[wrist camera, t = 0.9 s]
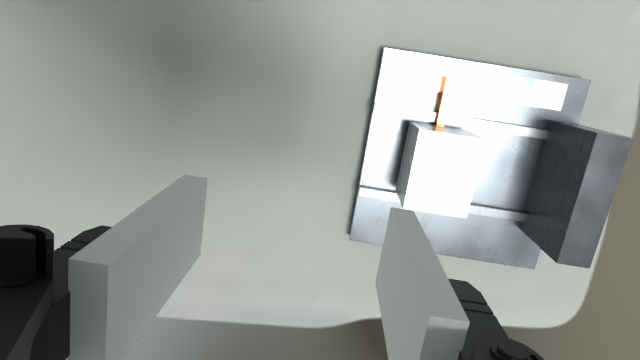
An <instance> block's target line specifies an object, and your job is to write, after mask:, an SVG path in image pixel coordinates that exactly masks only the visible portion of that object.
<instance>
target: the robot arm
mask: <svg viewBox="0 0 640 360" xmlns="http://www.w3.org/2000/svg"><path fill="white" fill-rule="evenodd" d="M206 188H207V178H203V177H196V176H190V175H183V176H182V177H181V178H179V179H178V180H176V181H175V182H174V183H172V184H171V185H170V186H168V187H167V188H165V189H164V190H163V191H161V192H160V193H159V194H157V195H156V196H154V197H153V198H152V199H150V200H149V201H147V202H146V203H145V204H143V205H142V206H141V207H139V208H138V209H136V210H135V211H134V212H132V213H131V214H130V215H128V216H127V217H125V218H124V219H123V220H121V221H120V222H119V223H117V224H116V225H114V226H113V227H108V226H99V227H96V228H93V229H90V230H86V231H83V232H82V233H80V234H79V235H77V236H76V237H74V238H73V239H71V242H70V241H68V242H67V243H65V244H64V245H62V246H61V248H58V249H56V250H55V251H54V234H53V233H52V232H51V231H50V230H49V229H46V228H43V227H40V226H34V225H6V226H0V360H66V358H67V357H68V360H124V359H125V358H126V357H127V355H128V354H129V353H130V351H131V350H132V348H133V347H134V346H135V344H136V343H137V342H138V340H139V339H140V337H141V336H142V335H143V333H144V332H145V330H146V329H147V328H148V326H149V325H150V324H151V322H152V321H153V319H154V318H155V317H156V315H157V314H158V312H159V311H160V310H161V308H162V307H163V306H164V304H165V303H166V301H167V300H168V299H169V297H170V296H171V294H172V293H173V292H174V290H175V289H176V288H177V286H178V285H179V283H180V282H181V281H182V279H183V278H184V276H185V275H186V274H187V272H188V271H189V270H190V268H191V267H192V265H193V264H194V263H195V261H196V260H197V258H198V257H199V256H200V254H201V243H202V232H203V221H204V210H205V199H206ZM376 287H377V293H378V299H379V305H380V311H381V317H382V323H383V329H384V335H385V340H386V347H387V353H388V359H389V360H543V358H542V357H540V356H539V355H538V354H537V353H536V352H535V351H534V350H532V349H530V348H529V347H527V346H525V345H524V344H522V343H519V342H517V341H515V340H512V339H509V338H508V336H507V335H506V333H505V331H504V330H503V328H502V327H501V325H500V323H499V322H498V320H497V318H496V317H495V315H493V312H492V310H491V309H490V307H489V306H487V302H486V301H485V299H484V297H483V296H482V294H481V292H479V291H478V290H477V289H475V288H474V287H473V286H472V285H470V284H469V283H468V282H466V281H460V280H453V279H448V278H447V276H446V274H445V272H444V270H443V268H442V266H441V264H440V262H439V260H438V258H437V256H436V254H435V252H434V250H433V248H432V246H431V244H430V242H429V240H428V238H427V236H426V234H425V232H424V230H423V228H422V226H421V224H420V222H419V220H418V218H417V216H416V214H415V212H414V211H412V210H406V209H399V208H393V207H391V208H390V213H389V218H388V223H387V228H386V233H385V238H384V243H383V248H382V253H381V258H380V263H379V268H378V273H377V278H376Z"/></svg>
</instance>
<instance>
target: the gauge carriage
mask: <svg viewBox="0 0 640 360" xmlns="http://www.w3.org/2000/svg"><path fill="white" fill-rule="evenodd" d="M454 79H455V77H450V76H446V79H445V84H444V89H443V93H442V98H441V102H440V107H439V111H438V116H437V121H436V125H431V124H425V123H419V122H412V121H409V126H408V131H407V136H406V141H405V146H404V151H403V156H402V161H401V166H400V171H399V176H398V181H397V185H396V190H395V191H396V193H397V196H398V198H399V200H400V202H401V205H402V207H403V209H410V210H416V211H422V212H429V213H435V214H441V215H448V216H454V217H460V218H467V215H468V211H469V207H470V203H471V199H472V195H473V191H474V187H475V183H476V179H477V175H478V171H479V167H480V163H481V159H482V155H483V151H484V147H485V143H486V140H485V139H483V138H482V137H480V136H478V135H476V134H474V133H472V132H470V131H468V130H463V129H457V128H450V127H444V124H445V119H446V115H447V110H448V106H449V101H450V97H451V92H452V88H453V84H454Z"/></svg>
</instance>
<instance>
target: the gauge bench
mask: <svg viewBox="0 0 640 360" xmlns="http://www.w3.org/2000/svg"><path fill="white" fill-rule="evenodd" d="M446 76H450V77H455V79H454V84H453V88H452V92H451V97H450V101H449V106H448V110H447V115H446V119H445V124H444V127H450V128H457V129H463V130H468V131H470V132H472V133H474V134H476V135H478V136H480V137H482V138H483V139H485V140H486V143H485V147H484V151H483V155H482V159H481V163H480V167H479V171H478V175H477V179H476V183H475V187H474V191H473V195H472V199H471V203H470V207H469V211H468V215H467V218H460V217H454V216H448V215H441V214H435V213H429V212H422V211H416V210H412V211H414V212H415V214H416V216H417V218H418V220H419V222H420V224H421V226H422V228H423V230H424V232H425V234H426V236H427V238H428V240H429V242H430V244H431V246H432V248H433V250H434V252H435V254H440V255H447V256H453V257H459V258H466V259H472V260H478V261H485V262H491V263H497V264H504V265H510V266H516V267H523V268H529V269H535V266H536V263H537V259H538V256H539V253H540V249H542V250H543V251H544V252H545V253H546V254H547V255H549V256H550V257H551V258H552V259H553V260H554V261H555V262H556V263H559V264H565V265H572V266H578V267H584V268H590V266H591V263H592V260H593V257H594V254H595V251H596V248H597V245H598V242H599V239H600V236H601V233H602V230H603V227H604V224H605V221H606V218H607V215H608V212H609V209H610V206H611V203H612V200H613V197H614V194H615V191H616V188H617V185H618V182H619V179H620V176H621V173H622V169H623V167H624V164H625V161H626V158H627V155H628V152H629V149H630V146H631V143H632V140H633V138H629V137H625V136H621V135H618V134H614V133H610V132H606V131H602V130H598V129H594V128H590V127H586V126H583V125H579V124H578V123H579V119H580V116H581V113H582V109H583V106H584V103H585V99H586V96H587V93H588V89H589V86H590V82H591V80H587V79H581V78H575V77H568V76H562V75H556V74H549V73H543V72H537V71H530V70H524V69H518V68H511V67H505V66H499V65H492V64H486V63H480V62H473V61H467V60H461V59H454V58H448V57H442V56H435V55H429V54H422V53H416V52H410V51H403V50H397V49H391V48H383V51H382V56H381V62H380V67H379V73H378V78H377V84H376V89H375V95H374V100H373V106H372V111H371V117H370V122H369V128H368V134H367V139H366V145H365V150H364V156H363V161H362V167H361V172H360V178H359V183H358V189H357V194H356V200H355V206H354V211H353V217H352V222H351V228H350V233H349V238H350V240H352V241H358V242H364V243H371V244H377V245H383V243H384V238H385V233H386V228H387V223H388V218H389V213H390V208H391V207H393V208H399V209H403V207H402V205H401V202H400V200H399V198H398V196H397V193H396V191H395V190H396V185H397V181H398V176H399V171H400V166H401V161H402V156H403V151H404V146H405V141H406V136H407V131H408V126H409V121H412V122H419V123H425V124H431V125H436V121H437V116H438V111H439V107H440V102H441V98H442V93H443V89H444V84H445V79H446ZM406 210H410V209H406Z"/></svg>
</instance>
